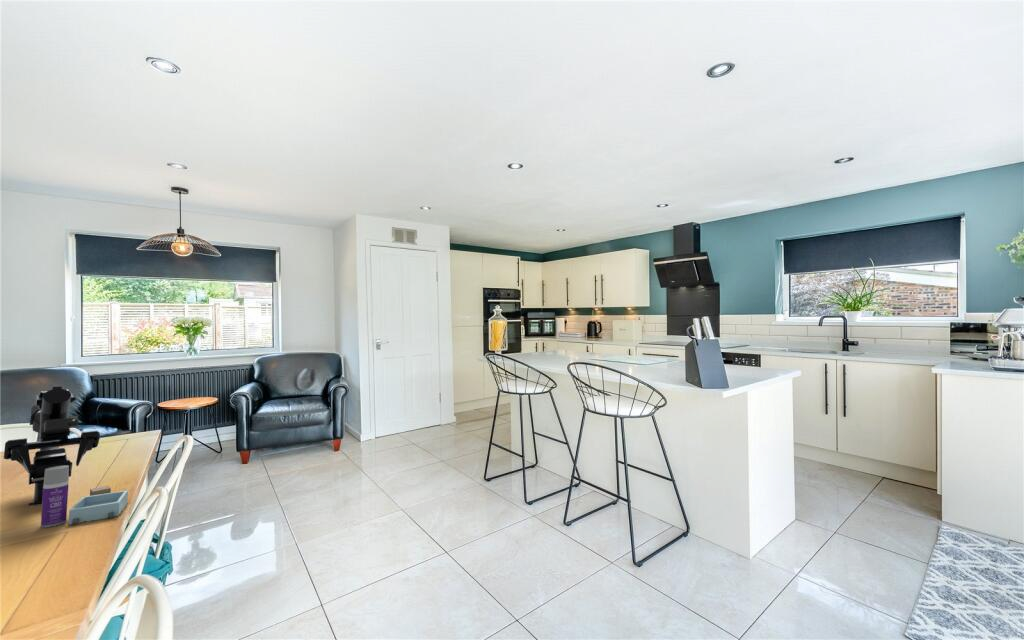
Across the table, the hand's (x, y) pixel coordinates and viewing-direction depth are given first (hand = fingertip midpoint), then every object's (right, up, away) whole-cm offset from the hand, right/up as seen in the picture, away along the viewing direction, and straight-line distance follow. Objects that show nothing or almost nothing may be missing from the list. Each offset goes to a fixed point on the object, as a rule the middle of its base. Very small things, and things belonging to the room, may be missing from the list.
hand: (54, 468), depth 118 cm
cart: (+12, -13, +1) cm, 18 cm away
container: (+6, -13, -6) cm, 16 cm away
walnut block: (+2, -14, +11) cm, 18 cm away
